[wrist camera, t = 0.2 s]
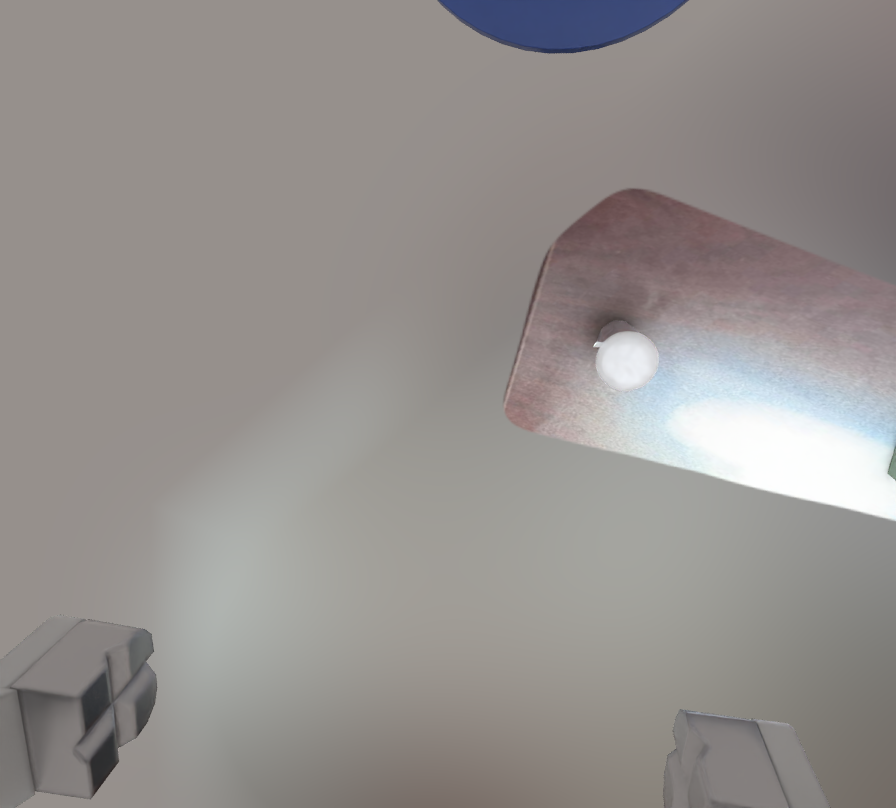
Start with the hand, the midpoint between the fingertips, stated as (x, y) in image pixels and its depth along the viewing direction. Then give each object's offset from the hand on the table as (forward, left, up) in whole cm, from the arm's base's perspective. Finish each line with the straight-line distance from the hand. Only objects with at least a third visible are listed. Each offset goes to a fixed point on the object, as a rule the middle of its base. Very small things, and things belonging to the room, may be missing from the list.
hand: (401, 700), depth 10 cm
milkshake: (+4, +8, -50) cm, 51 cm away
